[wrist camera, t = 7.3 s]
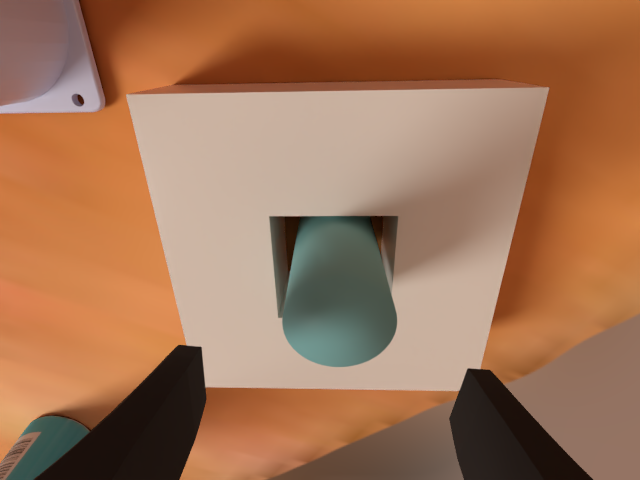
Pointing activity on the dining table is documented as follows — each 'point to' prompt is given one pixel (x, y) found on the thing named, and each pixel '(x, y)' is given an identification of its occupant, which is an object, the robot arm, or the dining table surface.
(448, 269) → the socket block
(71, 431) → the tube
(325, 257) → the dowel
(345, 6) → the dining table surface
